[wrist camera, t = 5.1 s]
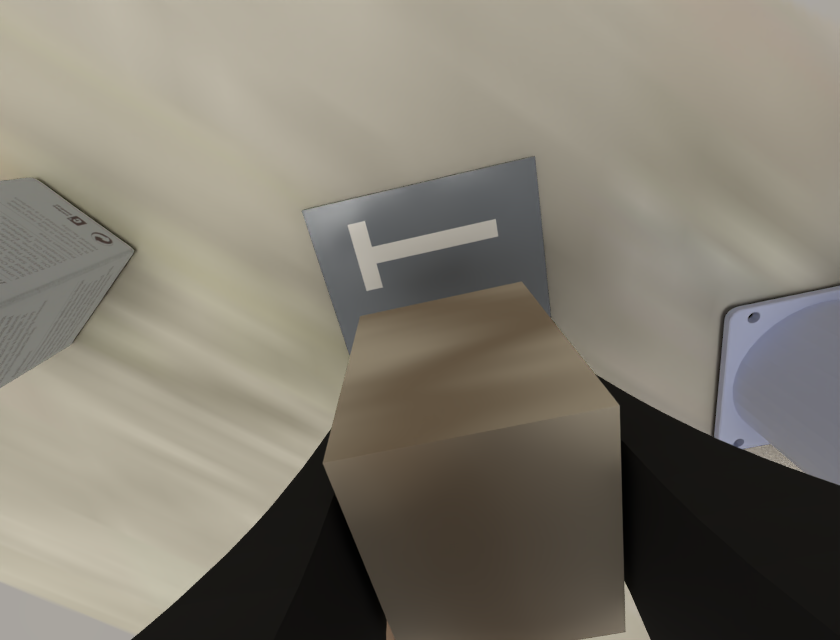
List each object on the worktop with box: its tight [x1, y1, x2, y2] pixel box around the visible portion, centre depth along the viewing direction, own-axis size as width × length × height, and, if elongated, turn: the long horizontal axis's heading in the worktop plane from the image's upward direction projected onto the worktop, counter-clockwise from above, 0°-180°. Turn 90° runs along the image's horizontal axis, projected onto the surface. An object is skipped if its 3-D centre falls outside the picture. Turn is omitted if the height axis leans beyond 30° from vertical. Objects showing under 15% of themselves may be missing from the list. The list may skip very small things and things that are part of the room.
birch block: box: [323, 281, 625, 640], centre depth 9 cm, size 4×5×5 cm
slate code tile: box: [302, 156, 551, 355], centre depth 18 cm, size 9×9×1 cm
